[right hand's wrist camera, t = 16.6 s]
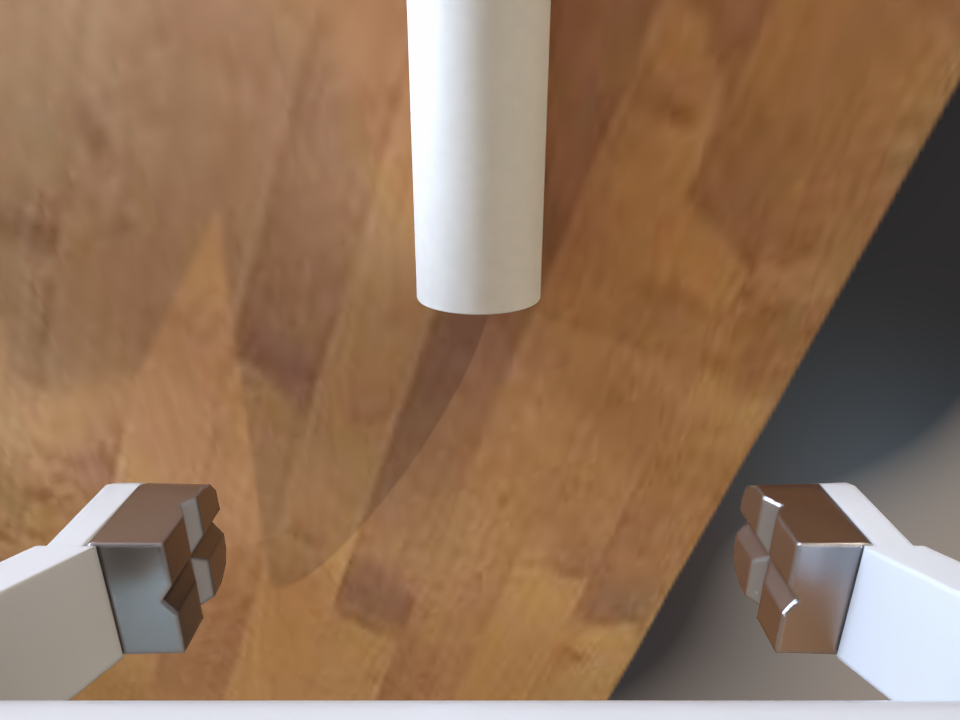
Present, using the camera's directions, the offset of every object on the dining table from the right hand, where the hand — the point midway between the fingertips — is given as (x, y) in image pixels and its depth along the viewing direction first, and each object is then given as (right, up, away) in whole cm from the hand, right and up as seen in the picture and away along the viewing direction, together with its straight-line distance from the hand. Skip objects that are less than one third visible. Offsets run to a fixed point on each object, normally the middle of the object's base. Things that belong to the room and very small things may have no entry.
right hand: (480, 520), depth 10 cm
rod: (0, +19, +21) cm, 28 cm away
